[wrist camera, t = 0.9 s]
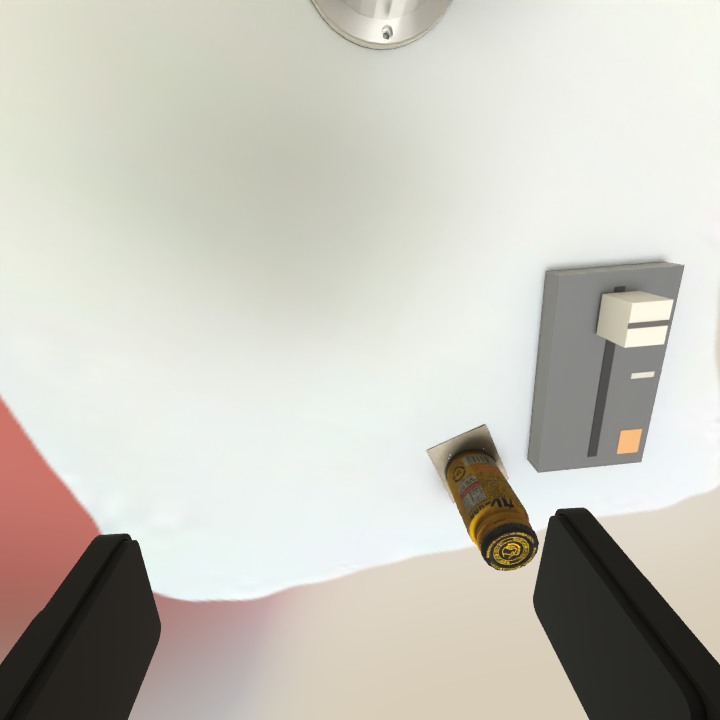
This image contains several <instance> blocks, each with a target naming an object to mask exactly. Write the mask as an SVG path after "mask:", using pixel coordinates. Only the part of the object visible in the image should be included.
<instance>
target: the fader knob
mask: <svg viewBox="0 0 720 720" xmlns="http://www.w3.org/2000/svg"><path fill="white" fill-rule="evenodd" d="M672 305H673V299H669V298H665V297H661V296H658V295H654V294H650V293H646V292H643V291H630V292H618V293H607V294H602V300H601V307H600V313H599V320H598V327H597V333H596V334H597V335H599V336H601V337H603V338H605V339H607V340H609V341H611V342H613V343H616V344H618V345H620V346H622V347H624V348H627V347H638V346H649V345H660V344H664V342H665V337H666V332H667V328H668V326H669V325H670V321H671V320H669V318H670V314H671V309H672Z"/></svg>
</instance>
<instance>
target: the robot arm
mask: <svg viewBox="0 0 720 720" xmlns="http://www.w3.org/2000/svg"><path fill="white" fill-rule="evenodd" d="M312 2H313V3H314V5H315V7H316V8H317V10H318V11H319V13H320V15H321V16H322V17H323V18H324V19H325V20H326V22H327V23H328V24H329V25H330V26H331V27H332V28H333V29H334V30H335V31H337V32H338V33H339V34H341V35H342V36H343V37H344V38H346V39H348V40H350V41H352V42H354V43H356V44H358V45H360V46H364V47H369V48H373V49H392V48H396V47H401V46H405V45H407V44H409V43H411V42H413V41H415V40H417V39H419V38H420V37H422V36H423V35H424V34H425V33H427V32H428V31H429V30H431V29H432V28H433V27H434V25H435V24H436V23H437V22H438V21H439V20H440V19H441V17H442V16H443V15H444V13H445V12H446V10H447V9H448V7H449V6H450V4H451V2H452V0H312ZM385 33H386V34H388V35H389V39H385V38H384V37H383V34H385ZM533 603H534V608H535V612H536V614H537V616H538V618H539V620H540V622H541V624H542V626H543V628H544V630H545V632H546V634H547V636H548V638H549V640H550V642H551V644H552V646H553V648H554V650H555V652H556V654H557V656H558V658H559V660H560V662H561V664H562V666H563V668H564V670H565V672H566V674H567V676H568V678H569V680H570V682H571V684H572V686H573V688H574V690H575V692H576V694H577V696H578V698H579V700H580V702H581V704H582V706H583V708H584V710H585V712H586V714H587V716H588V718H589V720H720V665H719V663H718V662H717V661H716V660H715V659H714V657H713V656H712V655H711V654H710V653H709V652H708V650H707V649H706V648H705V647H704V646H703V644H702V643H701V642H700V641H699V640H698V638H697V637H696V636H695V635H694V634H693V633H692V631H691V630H690V629H689V628H688V627H687V625H685V623H684V622H683V621H682V620H681V618H680V617H679V616H678V615H677V614H676V612H675V611H673V609H672V608H671V607H670V606H669V604H668V603H667V602H666V601H665V600H664V598H663V597H662V596H661V595H660V594H659V592H658V591H657V590H656V589H655V588H654V587H653V585H652V584H651V583H650V582H649V581H648V579H647V578H646V577H645V576H644V575H643V574H642V573H641V572H640V571H639V569H638V568H637V567H636V566H635V565H634V563H633V562H632V561H631V560H630V559H629V558H628V556H627V555H626V554H625V553H624V552H623V550H622V549H621V548H620V547H619V546H618V545H617V543H616V542H615V541H614V540H613V539H612V537H611V536H610V535H609V534H608V533H607V532H606V530H605V529H604V528H603V527H602V526H601V524H599V522H598V521H597V520H596V519H595V517H594V516H593V515H592V514H591V513H590V512H589V511H588V510H587V509H585V508H567V509H558V510H557V511H556V513H555V516H551V517H550V519H549V523H548V528H547V532H546V537H545V542H544V547H543V552H542V557H541V562H540V566H539V571H538V576H537V581H536V586H535V591H534V595H533ZM160 632H161V623H160V619H159V615H158V611H157V608H156V604H155V600H154V597H153V593H152V590H151V586H150V582H149V579H148V575H147V571H146V568H145V564H144V561H143V557H142V553H141V550H140V546H139V543H138V541H136V540H132V539H131V537H130V535H129V534H109V535H99V536H97V537H96V538H95V539H94V540H93V541H92V542H91V544H90V545H89V546H88V548H87V549H86V551H85V552H84V553H83V555H82V556H81V557H80V559H79V560H78V562H77V563H76V565H75V566H74V567H73V569H72V570H71V571H70V573H69V574H68V576H67V577H66V578H65V580H64V581H63V583H62V584H61V585H60V587H59V588H58V590H57V591H56V592H55V594H54V595H53V597H52V598H51V599H50V601H49V602H48V604H47V605H46V606H45V608H44V609H43V610H42V611H40V612H39V614H38V615H37V616H36V617H35V618H34V619H33V620H32V622H31V623H30V625H29V626H28V627H27V629H26V630H25V632H24V633H23V634H22V636H21V637H20V638H19V640H18V642H17V643H16V644H15V645H14V647H13V648H12V649H11V651H10V652H9V654H8V655H7V656H6V658H5V659H4V661H3V662H2V663H1V665H0V720H128V717H129V715H130V712H131V710H132V707H133V704H134V702H135V699H136V697H137V694H138V692H139V690H140V687H141V684H142V682H143V680H144V677H145V675H146V672H147V670H148V667H149V664H150V662H151V659H152V657H153V654H154V652H155V649H156V647H157V644H158V641H159V638H160Z"/></svg>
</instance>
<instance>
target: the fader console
mask: <svg viewBox="0 0 720 720" xmlns="http://www.w3.org/2000/svg"><path fill="white" fill-rule="evenodd" d="M683 270H684V265H680V264H674V263H668V262H656V263H644V264H632V265H620V266H608V267H595V268H583V269H571V270H559V271H547V272H546V276H545V286H544V296H543V307H542V317H541V327H540V337H539V348H538V358H537V368H536V379H535V389H534V399H533V409H532V420H531V430H530V440H529V450H528V461H529V462H530V463H531V464H532V466H533V467H534V468H535V470H536V471H537V472H538V473H539V472H548V471H558V470H568V469H578V468H588V467H597V466H607V465H617V464H627V463H637V462H641V461H642V456H643V452H644V447H645V442H646V438H647V433H648V429H649V424H650V420H651V415H652V411H653V406H654V402H655V397H656V392H657V388H658V383H659V379H660V374H661V370H662V365H663V361H664V356H665V352H666V347H667V342H668V338H669V333H670V329H671V324H672V320H673V315H674V311H675V306H676V302H677V297H678V293H679V288H680V283H681V279H682V274H683ZM630 291H643V292H646V293H650V294H654V295H658V296H661V297H665V298H669V299H673V305H672V309H671V314H670V318H669V320H671V321H670V325H669V326H668V328H667V332H666V337H665V342H664V344H660V345H649V346H638V347H627V348H624V347H622V346H620V345H618V344H616V343H613V342H611V341H609V340H607V339H605V338H603V337H601V336H599V335H597V334H596V333H597V327H598V320H599V313H600V307H601V300H602V294H607V293H618V292H630Z"/></svg>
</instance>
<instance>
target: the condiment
mask: <svg viewBox="0 0 720 720" xmlns="http://www.w3.org/2000/svg"><path fill="white" fill-rule="evenodd" d="M483 448H484V449H483ZM427 453H428V455H429V457H430V459H431V460H432V462H433V464H434V466H435V468H436V470H437V472H438V474H439V476H440V478H441V480H442V482H443V484H444V486H445V488H446V490H447V492H448V494H449V496H450V498H451V500H452V502H453V503H454V502H456V505H457V508H458V510H459V513H460V514H461V516H462V519H463V522H464V524H465V526H466V528H467V532H468V534H469V536H470V537H471V539H472V541H473V542H474V543H475V544H476V545H477V546H478V548H479V550H480V551H481V554H482V556H483V558H484V560H485V561H486V562H487V563H488V565H489V566H491V567H493V568H495V569H497V570H504V571H508V570H515V569H518V568H521V567H522V566H525V565H526V564H527V563H529V562H530V561H531V560H532V559H533V557H534V556H535V554H536V553H537V550H538V544H539V542H538V539H537V536H536V534H535V532H534V531H533V529H532V527H531V525H530V523H529V518H528V514H527V512H526V510H525V508H524V507H523V505H522V504H521V502H520V500H519V499H518V497H517V496H516V494H515V493H514V491H513V490H512V488H511V486H510V485H509V483H508V482H507V480H508V479H509V478H508V476H507V473H506V471H505V469H504V466H503V464H502V462H501V459H500V457H499V455H498V452H497V450H496V447H495V445H494V443H493V440H492V438H491V436H490V433H489V431H488V428H487V426H486V425H485V426H482V427H480V428H476V429H474V430H472V431H469V432H467V433H464V434H462V435H460V436H458V437H456V438H453V439H450V440H449V441H447V442H445V443H443V444H440V445H437V446H436V447H434V448H432V449H429V450H427ZM450 454H451V456H449V455H450ZM449 457H450V459H448V458H449Z"/></svg>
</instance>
